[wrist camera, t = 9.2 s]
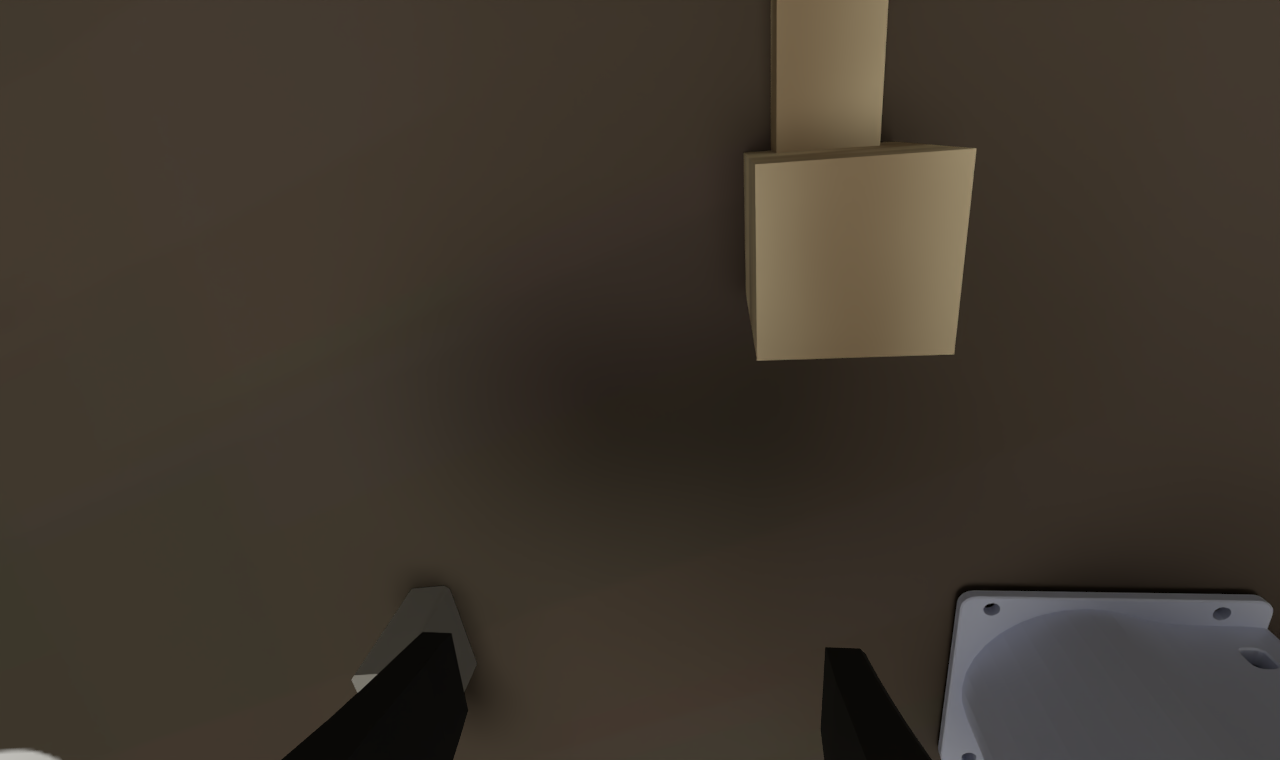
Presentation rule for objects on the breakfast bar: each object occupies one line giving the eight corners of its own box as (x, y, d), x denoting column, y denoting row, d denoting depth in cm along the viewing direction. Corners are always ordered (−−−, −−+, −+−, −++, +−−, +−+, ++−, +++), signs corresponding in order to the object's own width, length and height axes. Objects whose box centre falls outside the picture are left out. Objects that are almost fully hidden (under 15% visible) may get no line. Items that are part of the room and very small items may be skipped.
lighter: (407, 589, 25) (278, 782, 18) (448, 585, 25) (333, 780, 17) (460, 722, 27) (365, 941, 20) (497, 720, 27) (415, 942, 20)
